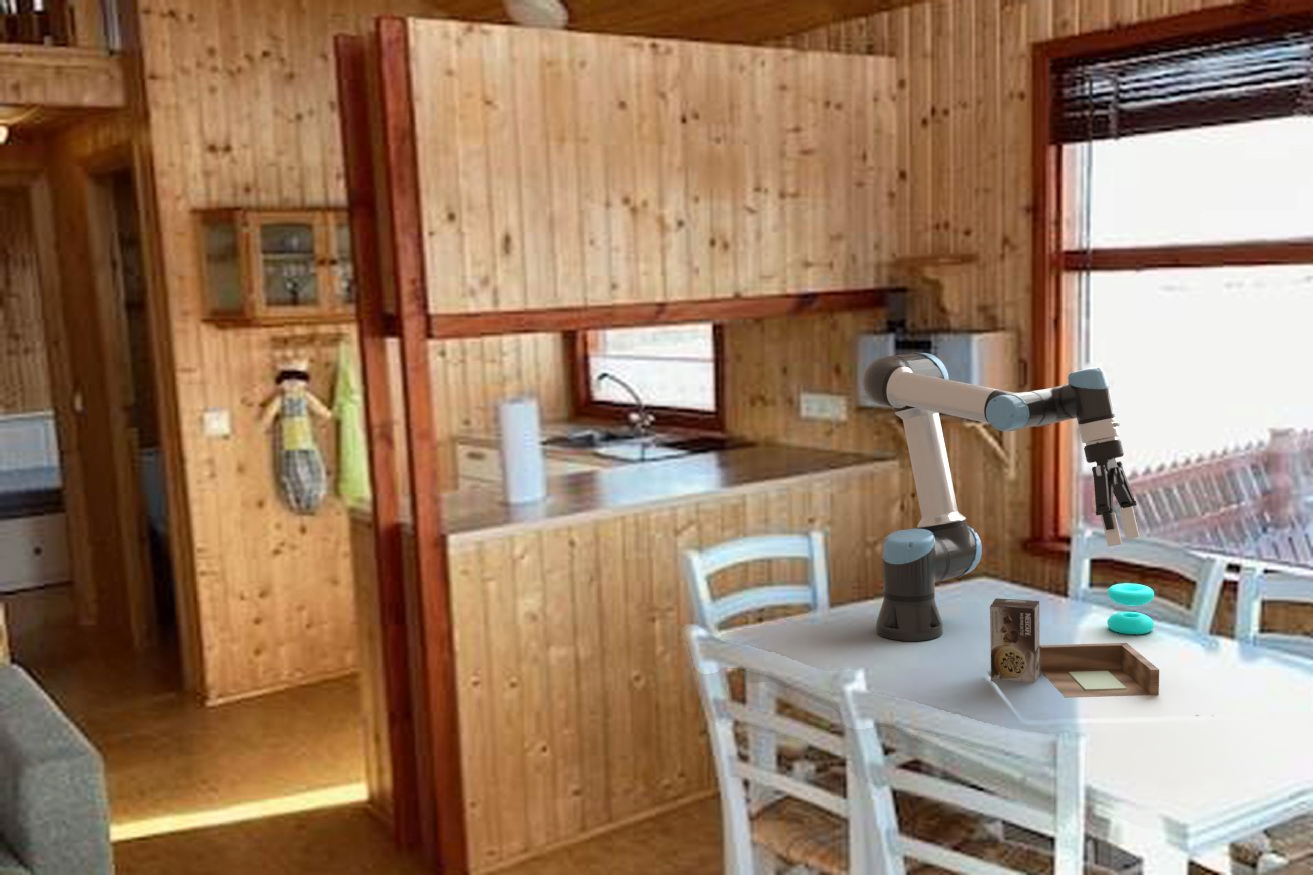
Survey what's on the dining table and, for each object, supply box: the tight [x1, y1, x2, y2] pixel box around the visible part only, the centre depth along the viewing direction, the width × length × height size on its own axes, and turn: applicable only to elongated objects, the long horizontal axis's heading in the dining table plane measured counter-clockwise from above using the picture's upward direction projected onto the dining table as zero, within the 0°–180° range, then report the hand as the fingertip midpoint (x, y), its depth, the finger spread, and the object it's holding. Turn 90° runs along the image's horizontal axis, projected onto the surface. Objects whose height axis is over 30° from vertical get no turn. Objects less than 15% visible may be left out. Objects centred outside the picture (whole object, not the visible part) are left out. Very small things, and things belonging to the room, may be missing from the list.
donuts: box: [1106, 582, 1155, 635], centre depth 297 cm, size 10×10×10 cm
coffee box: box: [989, 597, 1041, 683], centre depth 264 cm, size 9×6×16 cm
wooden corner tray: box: [1039, 642, 1160, 698], centre depth 259 cm, size 18×18×6 cm
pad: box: [1068, 671, 1127, 691], centre depth 260 cm, size 11×8×1 cm
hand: (1124, 541), depth 269 cm, fingers open, 13 cm apart
